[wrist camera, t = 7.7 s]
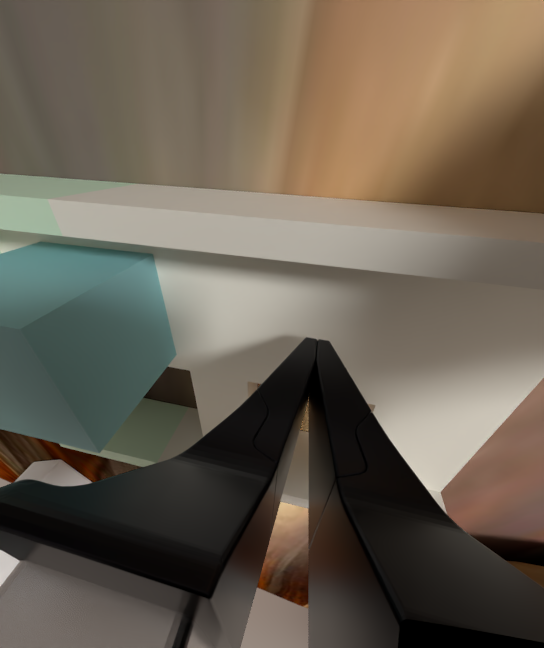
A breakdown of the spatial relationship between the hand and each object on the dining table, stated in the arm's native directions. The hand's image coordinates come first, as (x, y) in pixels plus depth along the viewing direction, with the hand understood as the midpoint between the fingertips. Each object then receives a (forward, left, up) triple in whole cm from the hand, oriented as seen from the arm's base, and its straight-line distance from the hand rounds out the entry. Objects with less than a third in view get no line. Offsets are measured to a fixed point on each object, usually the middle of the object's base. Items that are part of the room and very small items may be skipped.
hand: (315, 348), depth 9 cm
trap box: (+3, +4, -3) cm, 6 cm away
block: (+9, 0, -1) cm, 9 cm away
